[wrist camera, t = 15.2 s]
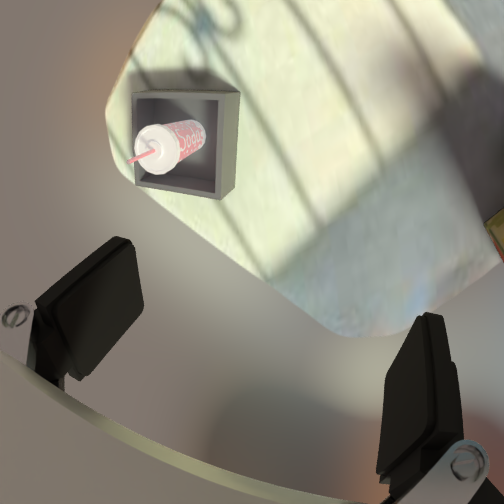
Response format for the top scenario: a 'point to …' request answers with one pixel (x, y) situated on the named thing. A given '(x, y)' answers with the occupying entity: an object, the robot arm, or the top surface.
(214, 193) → the bin
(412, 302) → the top surface
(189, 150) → the beverage cup
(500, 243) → the food packaging
